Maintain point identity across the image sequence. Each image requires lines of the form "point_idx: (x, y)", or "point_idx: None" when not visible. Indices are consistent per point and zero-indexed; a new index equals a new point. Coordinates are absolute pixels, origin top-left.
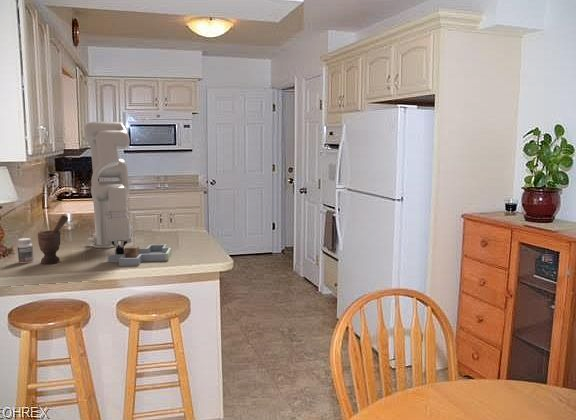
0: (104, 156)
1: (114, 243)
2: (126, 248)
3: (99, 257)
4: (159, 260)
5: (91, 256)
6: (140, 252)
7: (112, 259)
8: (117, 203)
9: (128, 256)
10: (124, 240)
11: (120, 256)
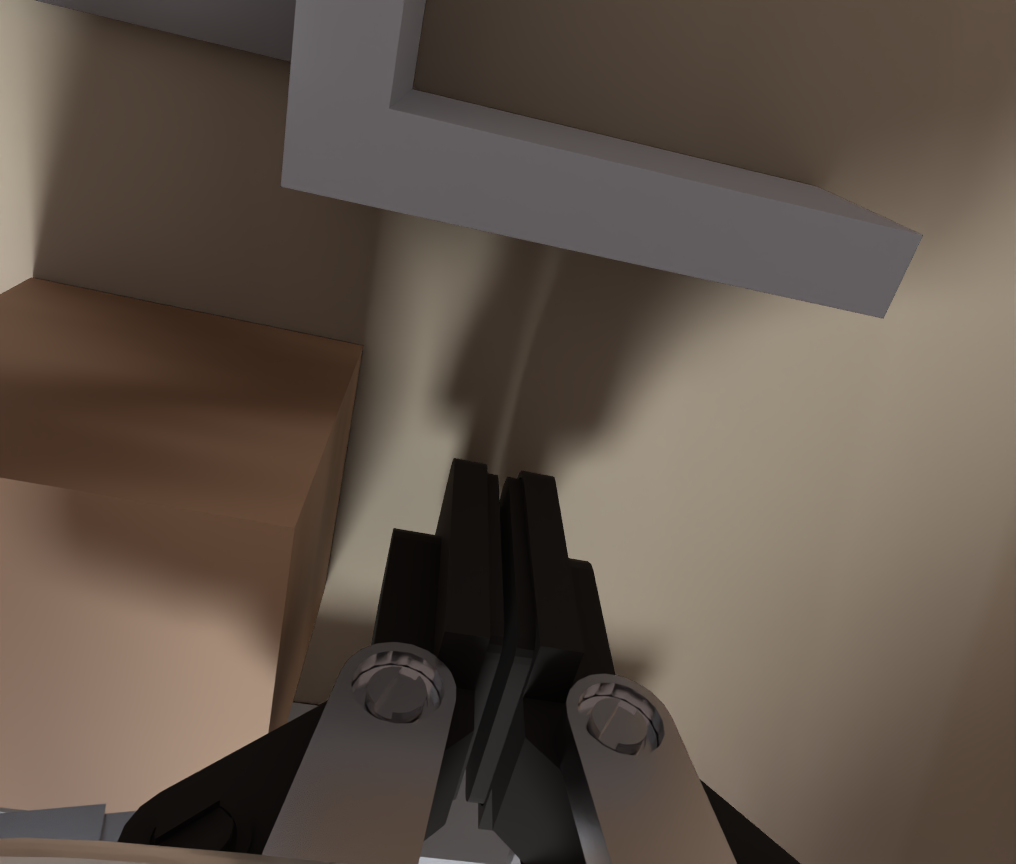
0: None
1: (716, 838)
2: (209, 512)
3: (894, 697)
4: None
5: (1005, 791)
6: None
7: (721, 173)
8: None
9: (238, 357)
10: (131, 855)
11: (467, 124)
